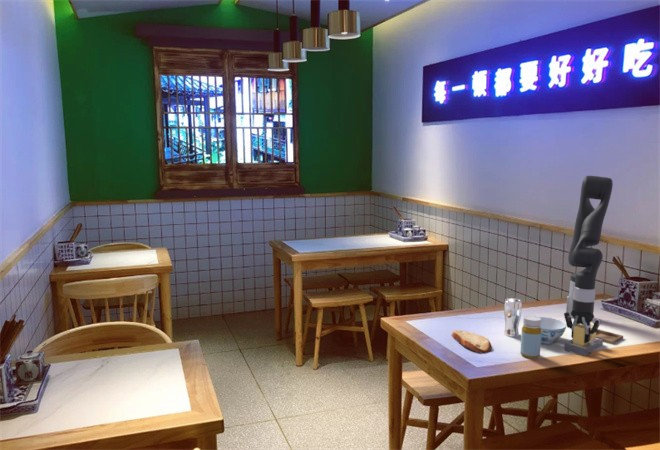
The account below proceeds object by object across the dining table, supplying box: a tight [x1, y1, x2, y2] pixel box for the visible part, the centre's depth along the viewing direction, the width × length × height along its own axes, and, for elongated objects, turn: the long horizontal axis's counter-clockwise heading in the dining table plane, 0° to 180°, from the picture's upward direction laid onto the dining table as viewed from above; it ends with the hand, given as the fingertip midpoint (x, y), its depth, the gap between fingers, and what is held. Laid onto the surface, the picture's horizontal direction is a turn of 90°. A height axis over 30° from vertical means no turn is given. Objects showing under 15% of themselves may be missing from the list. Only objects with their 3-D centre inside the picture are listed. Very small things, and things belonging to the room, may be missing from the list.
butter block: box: [573, 324, 588, 347], centre depth 210 cm, size 4×4×8 cm
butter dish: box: [564, 324, 604, 357], centre depth 212 cm, size 8×15×8 cm, turn 130°
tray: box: [596, 328, 624, 345], centre depth 222 cm, size 11×10×2 cm
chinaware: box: [539, 316, 567, 345], centre depth 220 cm, size 15×15×8 cm
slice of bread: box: [451, 329, 493, 354], centre depth 218 cm, size 18×18×4 cm
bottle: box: [519, 314, 542, 360], centre depth 204 cm, size 7×7×15 cm
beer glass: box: [503, 297, 523, 338], centre depth 227 cm, size 7×7×15 cm
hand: (580, 340), depth 210 cm, fingers closed on butter block, 4 cm apart
